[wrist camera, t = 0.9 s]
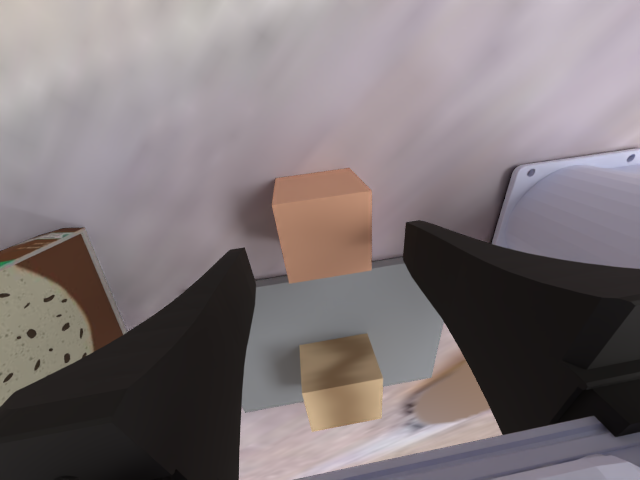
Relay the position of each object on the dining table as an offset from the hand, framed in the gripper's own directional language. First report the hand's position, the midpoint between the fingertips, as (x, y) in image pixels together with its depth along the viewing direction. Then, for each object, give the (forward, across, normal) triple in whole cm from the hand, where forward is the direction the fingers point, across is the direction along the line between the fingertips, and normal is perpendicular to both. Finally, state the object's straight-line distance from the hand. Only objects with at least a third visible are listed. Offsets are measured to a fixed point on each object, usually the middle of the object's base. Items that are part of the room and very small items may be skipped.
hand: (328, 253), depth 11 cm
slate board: (+6, 0, +13) cm, 14 cm away
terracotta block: (+6, 0, 0) cm, 6 cm away
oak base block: (+6, 0, +15) cm, 16 cm away
